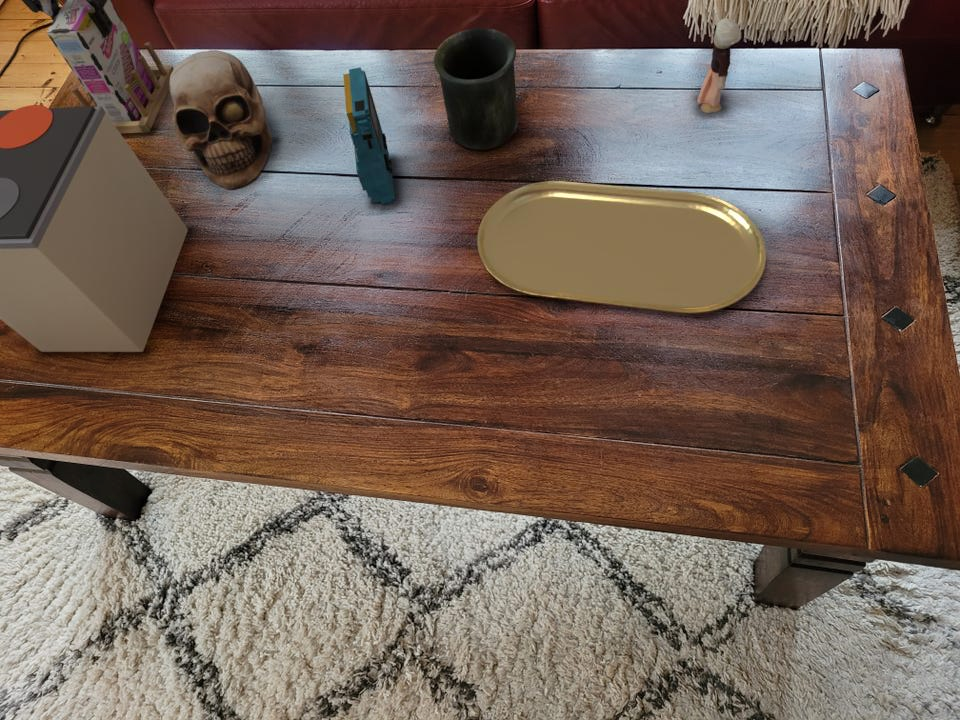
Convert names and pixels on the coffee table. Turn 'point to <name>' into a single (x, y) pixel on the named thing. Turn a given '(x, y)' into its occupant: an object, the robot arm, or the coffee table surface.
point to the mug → (479, 87)
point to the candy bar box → (101, 59)
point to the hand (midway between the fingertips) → (90, 33)
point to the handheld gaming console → (368, 139)
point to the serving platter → (622, 246)
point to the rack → (154, 99)
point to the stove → (80, 233)
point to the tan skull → (220, 117)
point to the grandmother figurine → (718, 65)
